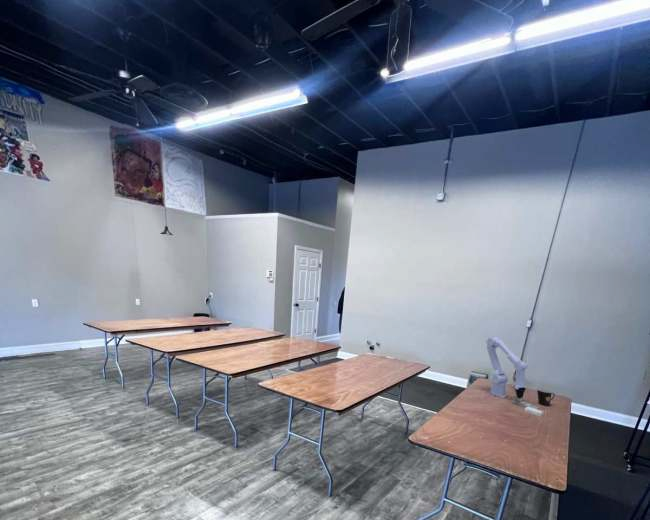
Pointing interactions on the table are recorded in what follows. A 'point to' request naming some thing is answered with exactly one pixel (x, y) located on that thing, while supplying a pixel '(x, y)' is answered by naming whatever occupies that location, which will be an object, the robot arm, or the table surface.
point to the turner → (520, 400)
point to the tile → (533, 411)
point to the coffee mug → (544, 397)
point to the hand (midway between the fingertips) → (520, 397)
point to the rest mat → (524, 405)
